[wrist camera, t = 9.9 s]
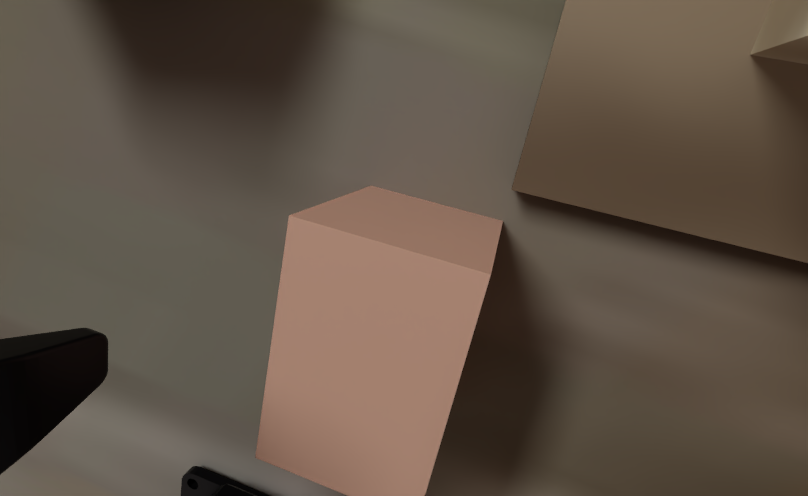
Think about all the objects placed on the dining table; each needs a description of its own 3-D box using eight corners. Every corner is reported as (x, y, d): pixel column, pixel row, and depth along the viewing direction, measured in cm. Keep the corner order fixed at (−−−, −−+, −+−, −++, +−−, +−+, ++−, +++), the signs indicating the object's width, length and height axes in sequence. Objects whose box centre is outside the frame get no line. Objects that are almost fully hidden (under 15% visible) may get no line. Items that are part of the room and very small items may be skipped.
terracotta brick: (451, 395, 14) (416, 524, 10) (338, 356, 15) (255, 457, 10) (503, 220, 13) (491, 274, 8) (371, 185, 13) (289, 215, 9)
